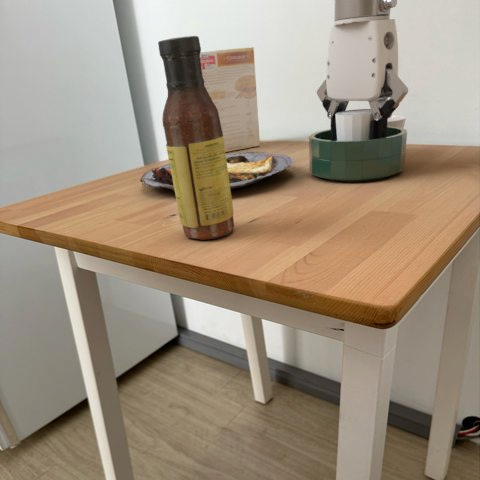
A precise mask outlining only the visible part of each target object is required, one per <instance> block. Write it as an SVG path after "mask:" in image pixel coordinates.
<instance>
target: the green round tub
mask: <svg viewBox="0 0 480 480" xmlns="http://www.w3.org/2000/svg"><path fill="white" fill-rule="evenodd" d="M308 138H309V139H308V142H309V143H308V144H309V145H308V149H309V152H308V153H309V173H310V174H311V175H312V176H315V177H317V178H321V179H324V180H328V181H334V182H345V183H346V182H350V183H352V182H369V181H376V180H382V179H384V178H388V177H391V176H393V175H396V174H399V173H401V172H402V171H403V170H404V169H405V164H406V151H407V150H406V149H407V139H408V130H407V129H406V128H399V127H391V126H387V137H384V138H378V139H368V140H352V141H333V140H331V128H330V129H324V130H320V131H317V132H314V133H311V134H310V135H309V136H308Z"/></svg>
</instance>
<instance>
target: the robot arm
mask: <svg viewBox="0 0 480 480" xmlns="http://www.w3.org/2000/svg"><path fill="white" fill-rule="evenodd" d="M397 4H398V0H334V17H333V18H334V21H333V22H334V23H333V25H332V26H331V29H330V35H329V40H328V47H327V57H326V59H327V60H326V75H325V76H326V77H325V79H324V80H323V82H322V83H321V84H320V86H319V87H318V89H317V90H316V94H317V97H318V99H319V101H320V102H321V103H322V104H321V105H322V107H323V108H324V110H325V112H326V116H327V118H328V119H330V129H331V140H333V141H337V131H336V117H335V114H336V113H339V112H342V111H347V107H348V105H349V102H368V105H369V109H371V111H372V114H373V117H374V120H372V121H371V122H370V132H369V139H378V138H384V137H387V122H388V118H390V117H391V116H392V115H393V113H394V112H395V111H396V109H397V108H398V107H399V106H400V103H401V102H402V101H403V100H404V99H405V97H406V96H407V94H408V93H409V88H408V86H407V85H406V84H405V83H404V81H403V80H402V79H401V78H400V77H399V44H398V33H397V25H396V19H395V18H391V16H390V15H391V9H392V8H395V7H396V6H397ZM388 98H389V99H388Z"/></svg>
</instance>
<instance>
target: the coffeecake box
mask: <svg viewBox="0 0 480 480" xmlns="http://www.w3.org/2000/svg"><path fill="white" fill-rule="evenodd" d="M254 49H255V48H254V47H253V46H252V47H239V48H225V49H215V50H205V51H201V52H200V61H201V68H202V76H203V79H204V86H205V88H206V90H207V92H208V94H209V96H210V97H211V99H212V101H213V103H214V104H215V106H216V108H217V110H218V114H219V119H220V123H221V128H222V132H223V138H224V146H225V153H229V152H230V153H231V152H235V151H240V150H245V149H251V148H255V147H260V146H261V140H260V139H261V138H260V125H259V124H260V123H259V110H258V95H257V94H258V93H257V80H256V65H255V51H254Z"/></svg>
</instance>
